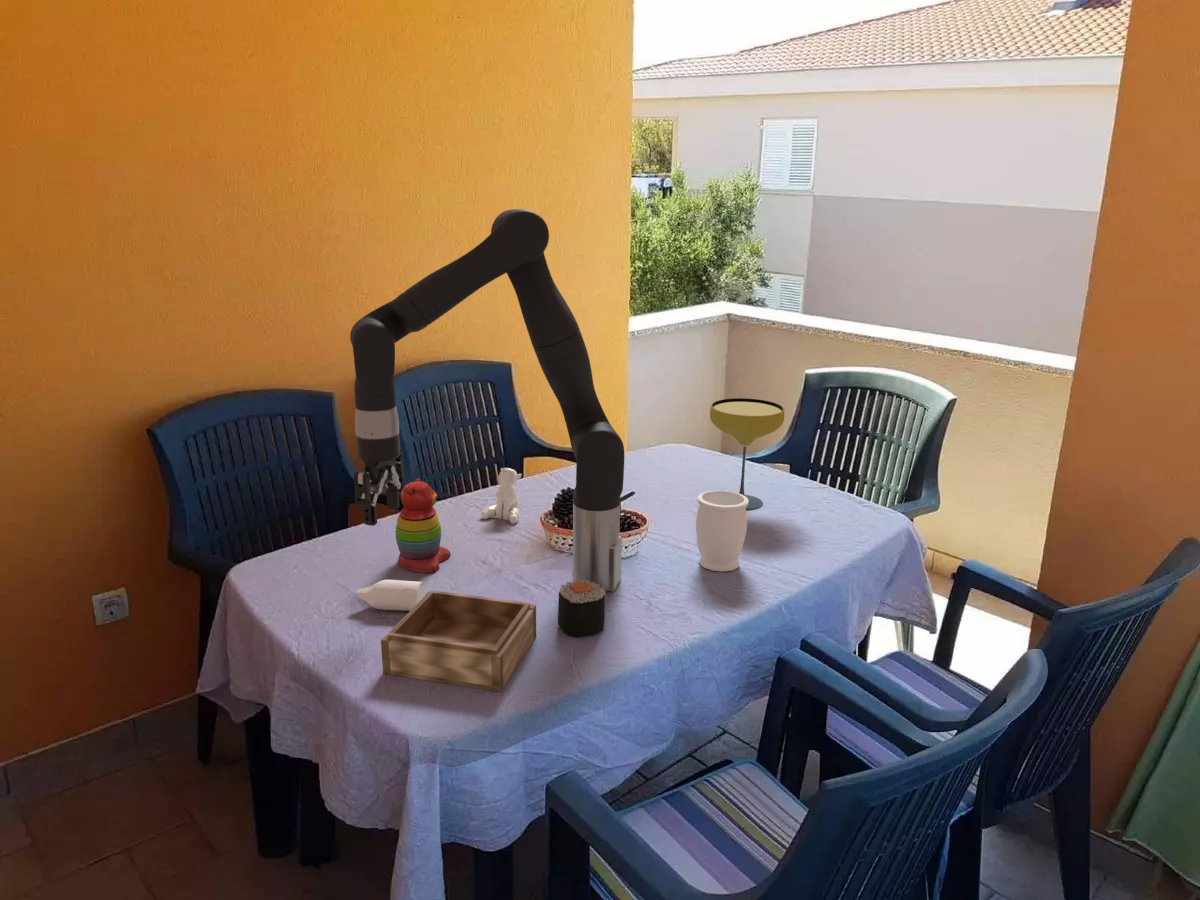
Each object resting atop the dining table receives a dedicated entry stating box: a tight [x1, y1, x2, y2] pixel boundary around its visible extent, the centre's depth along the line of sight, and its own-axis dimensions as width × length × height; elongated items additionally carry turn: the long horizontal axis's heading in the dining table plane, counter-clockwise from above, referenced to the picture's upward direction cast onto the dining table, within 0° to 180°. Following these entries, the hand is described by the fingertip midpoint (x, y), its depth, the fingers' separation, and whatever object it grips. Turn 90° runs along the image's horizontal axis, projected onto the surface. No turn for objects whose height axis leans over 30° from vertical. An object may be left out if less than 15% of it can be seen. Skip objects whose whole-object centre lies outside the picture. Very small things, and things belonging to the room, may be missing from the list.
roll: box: [356, 579, 425, 612], centre depth 166 cm, size 6×12×6 cm, turn 88°
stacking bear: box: [395, 478, 451, 574], centre depth 185 cm, size 11×10×18 cm
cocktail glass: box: [709, 397, 785, 511], centre depth 220 cm, size 18×18×25 cm
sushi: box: [557, 579, 606, 638], centre depth 160 cm, size 8×8×8 cm
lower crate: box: [380, 590, 537, 693], centre depth 150 cm, size 20×18×6 cm
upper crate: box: [386, 590, 531, 654], centre depth 150 cm, size 19×17×6 cm
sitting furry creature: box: [480, 467, 522, 525], centre depth 211 cm, size 10×9×12 cm
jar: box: [695, 489, 749, 573], centre depth 186 cm, size 11×10×15 cm
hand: (382, 516), depth 162 cm, fingers open, 8 cm apart
